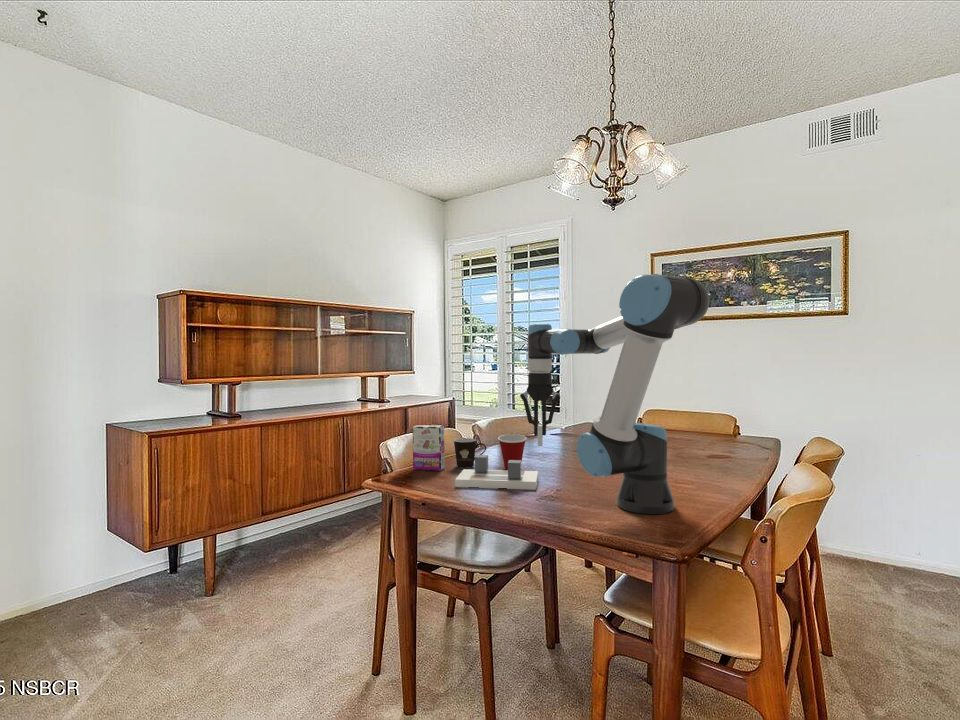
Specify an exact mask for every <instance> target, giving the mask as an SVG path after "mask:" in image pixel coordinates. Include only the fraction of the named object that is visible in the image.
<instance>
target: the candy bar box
mask: <svg viewBox="0 0 960 720" xmlns="http://www.w3.org/2000/svg"><path fill="white" fill-rule="evenodd" d="M411 429H412V467H413V471H425V470H433V471H432V472H441V470H442V471H443V470H445V468H446V462H445V460H446V459H445V457H446V456H445V455H446V454H445V426H444V425H437V424H434V425H433V424H431V425H430V424H422V425H421V424H416V425H414V426H412V428H411Z"/></svg>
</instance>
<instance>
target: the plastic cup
mask: <svg viewBox="0 0 960 720" xmlns="http://www.w3.org/2000/svg"><path fill="white" fill-rule="evenodd" d="M527 438H528V437H526V436H525V435H522V434H504V435H503V434H502V435H500V436H498V437H497V440H498V442H499V445H500V450H501V455H502V460H503V465H504V469H505V470H506V469H507V470H508V461H509V460H521V463H522V461H523V458H524V456H523V455H524V449H525V444H526V441H527Z"/></svg>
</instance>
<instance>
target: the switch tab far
mask: <svg viewBox="0 0 960 720" xmlns="http://www.w3.org/2000/svg"><path fill="white" fill-rule="evenodd" d="M474 470H475V472H487V471H488V470H489V454H482V455H480V454H475V460H474Z"/></svg>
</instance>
